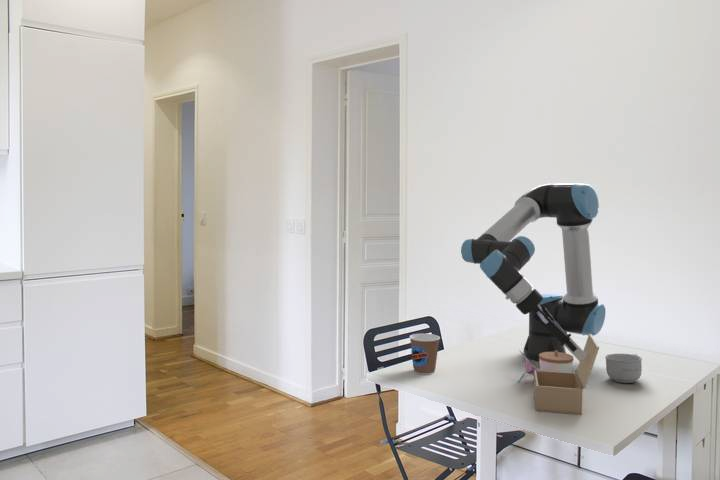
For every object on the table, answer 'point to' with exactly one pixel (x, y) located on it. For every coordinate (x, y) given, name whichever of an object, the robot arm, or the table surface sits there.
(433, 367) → the coffee cup
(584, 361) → the lid
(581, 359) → the robot arm
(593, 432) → the table surface
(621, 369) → the teacup
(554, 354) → the lidded jar
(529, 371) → the lily
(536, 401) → the mailer box
